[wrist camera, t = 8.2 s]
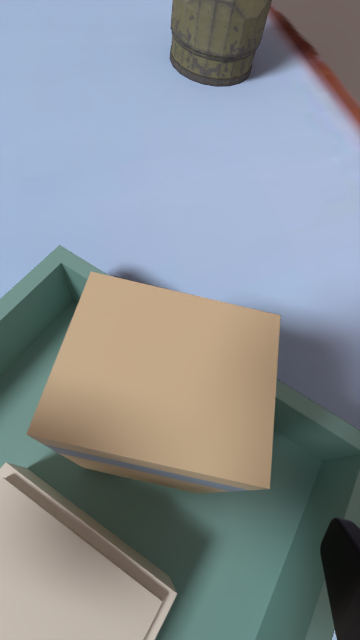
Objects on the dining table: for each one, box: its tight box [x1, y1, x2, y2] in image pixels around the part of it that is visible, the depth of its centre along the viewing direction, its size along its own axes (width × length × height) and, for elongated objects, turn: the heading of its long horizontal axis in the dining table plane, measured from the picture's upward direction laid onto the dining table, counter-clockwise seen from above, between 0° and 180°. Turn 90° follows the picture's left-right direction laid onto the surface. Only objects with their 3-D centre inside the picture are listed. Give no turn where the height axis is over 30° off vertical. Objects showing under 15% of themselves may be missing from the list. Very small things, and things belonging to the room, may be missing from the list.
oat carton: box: [26, 272, 281, 494], centre depth 13 cm, size 4×6×10 cm
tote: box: [0, 245, 360, 640], centre depth 15 cm, size 16×18×4 cm
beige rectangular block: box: [0, 462, 177, 640], centre depth 13 cm, size 6×8×3 cm
